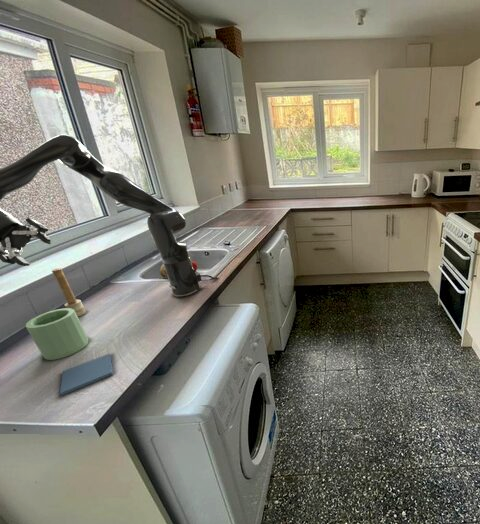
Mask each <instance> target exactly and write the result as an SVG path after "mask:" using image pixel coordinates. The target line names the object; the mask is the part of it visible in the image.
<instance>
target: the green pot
mask: <svg viewBox="0 0 480 524" xmlns="http://www.w3.org/2000/svg"><path fill="white" fill-rule="evenodd" d="M81 323H82V322H81V321H80V319H79V317H77V315H76V313H75V311H74V309H71V308H64V307H63V308H58V309H53V310H50V311H47V312H44V313H42V314H39V315H37V316H34V317H33V318H31V319H30V320H29V321H27V322H26V324H25V328H26V330H27V332H28V334H29V335H30V337H31V338H32V340H33V343H35V345H36V347H37V349H38V350H39V352H40V354H41V355H42V357H43V358H44V359H45V360H47V361H53V360H60V359H63V358H65V357H68V356H71V355H73V354H75V353H78V352H80V350H82V349H84V348H85V346H87V345H88V343H89V339H88V335H87V333H86V331H85V330H84V327H83V325H82V324H81Z"/></svg>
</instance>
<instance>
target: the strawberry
mask: <svg viewBox="0 0 480 524" xmlns="http://www.w3.org/2000/svg"><path fill="white" fill-rule="evenodd" d="M191 263H192V266H193V268H194V269H195V272H196V271H197V270H198V263H197V262H196V261H194V260H193V259H191Z"/></svg>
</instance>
